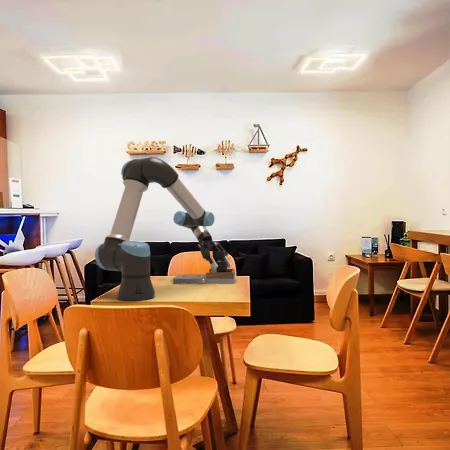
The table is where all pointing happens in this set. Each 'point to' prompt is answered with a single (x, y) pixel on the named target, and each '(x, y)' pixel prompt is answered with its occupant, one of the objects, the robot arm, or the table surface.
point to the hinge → (200, 279)
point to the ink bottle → (219, 262)
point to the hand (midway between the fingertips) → (223, 267)
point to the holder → (221, 275)
